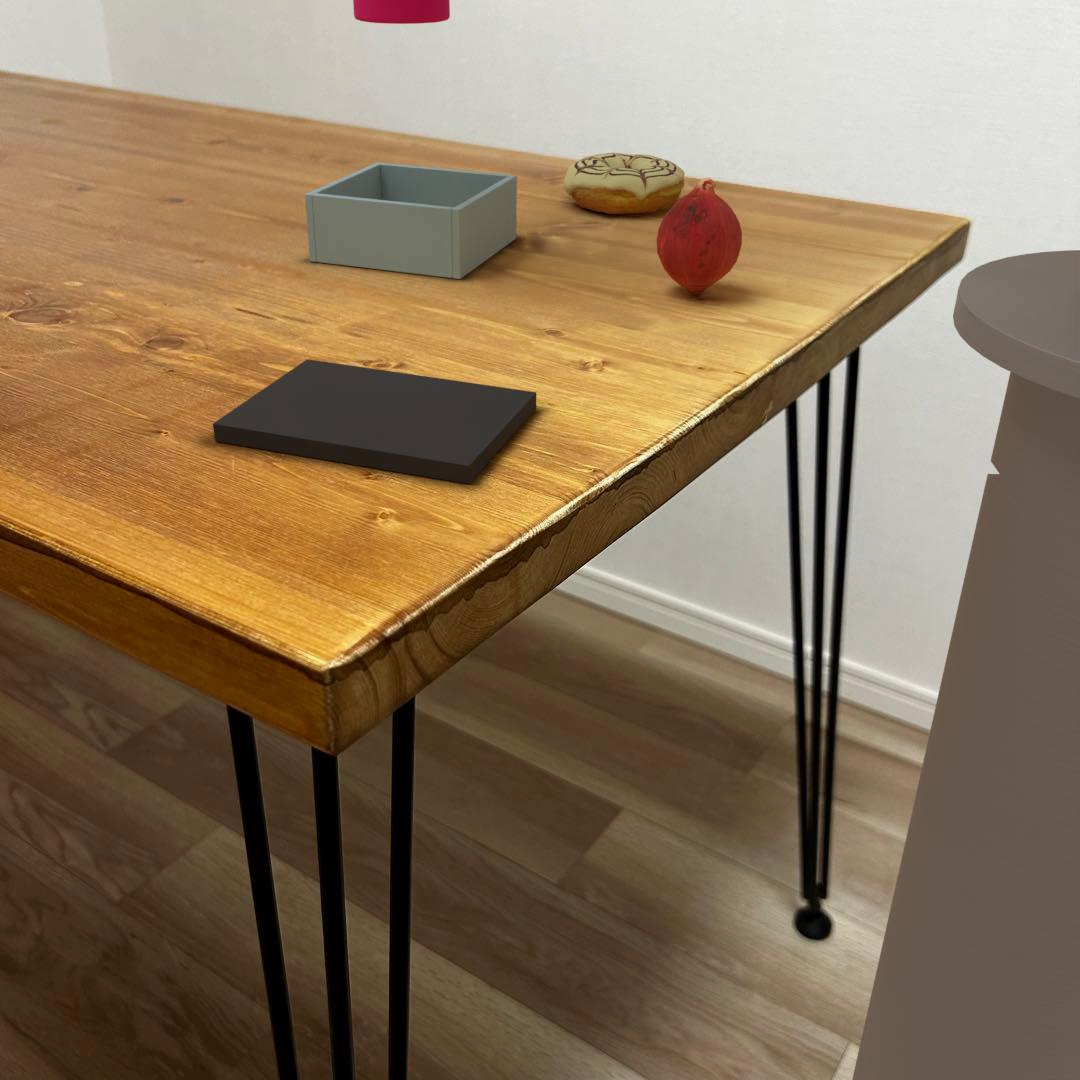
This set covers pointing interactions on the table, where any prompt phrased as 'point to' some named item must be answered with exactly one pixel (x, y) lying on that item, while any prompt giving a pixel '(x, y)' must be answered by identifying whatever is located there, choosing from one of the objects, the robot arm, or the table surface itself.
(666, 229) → the onion
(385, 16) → the pepper mill
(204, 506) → the table surface
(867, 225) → the table surface
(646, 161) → the decorated donut
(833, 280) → the table surface
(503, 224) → the crate
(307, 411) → the mat
